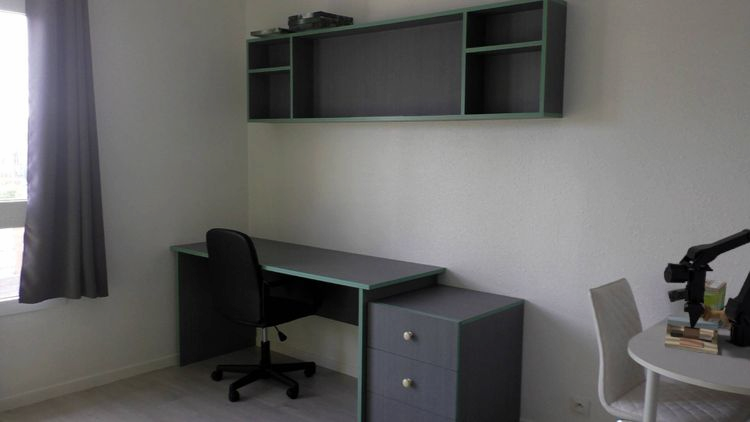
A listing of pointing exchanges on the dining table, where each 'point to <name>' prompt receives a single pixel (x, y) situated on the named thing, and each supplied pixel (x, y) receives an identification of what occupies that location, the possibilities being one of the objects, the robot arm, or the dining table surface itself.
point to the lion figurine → (715, 316)
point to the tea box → (714, 296)
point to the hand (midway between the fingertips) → (692, 327)
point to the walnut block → (691, 333)
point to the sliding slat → (686, 322)
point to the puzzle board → (691, 340)
